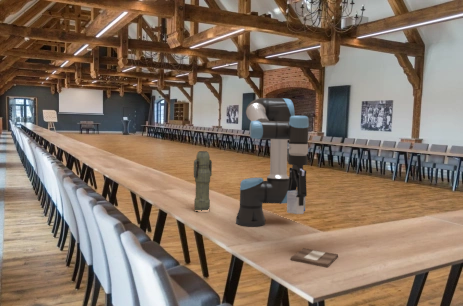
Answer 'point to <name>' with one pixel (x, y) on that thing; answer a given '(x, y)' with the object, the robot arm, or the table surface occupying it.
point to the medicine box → (292, 201)
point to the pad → (314, 257)
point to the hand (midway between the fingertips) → (296, 211)
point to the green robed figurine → (202, 180)
